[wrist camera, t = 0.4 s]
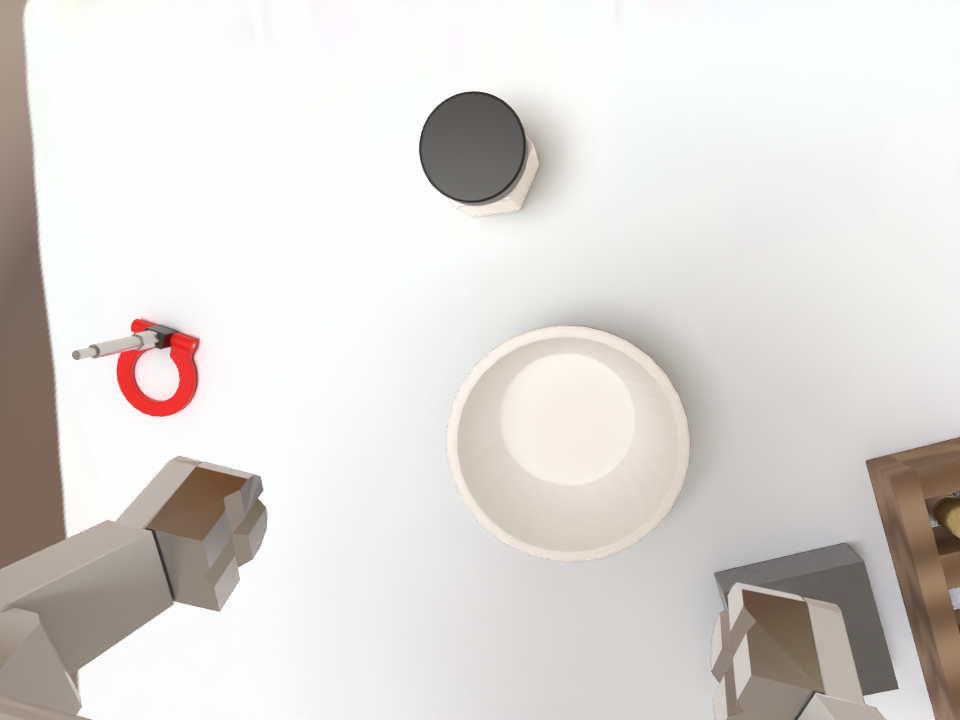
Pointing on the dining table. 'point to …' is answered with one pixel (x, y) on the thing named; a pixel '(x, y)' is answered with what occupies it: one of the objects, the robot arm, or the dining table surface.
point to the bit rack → (925, 560)
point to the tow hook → (134, 347)
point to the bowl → (568, 443)
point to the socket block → (833, 581)
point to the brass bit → (945, 512)
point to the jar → (478, 154)
